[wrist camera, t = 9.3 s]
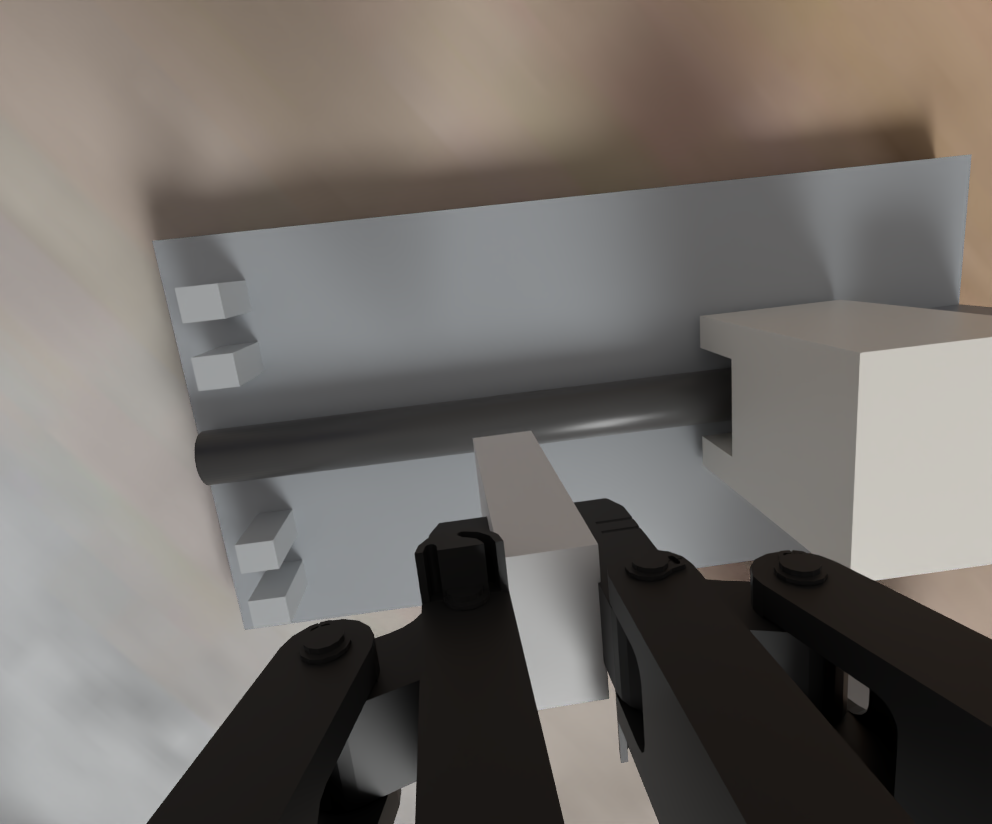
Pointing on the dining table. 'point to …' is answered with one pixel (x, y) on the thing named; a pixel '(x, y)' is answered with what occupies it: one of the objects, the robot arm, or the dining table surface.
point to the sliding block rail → (513, 360)
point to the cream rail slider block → (862, 430)
